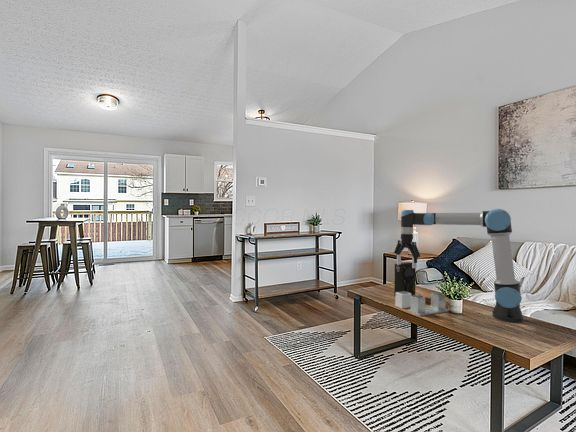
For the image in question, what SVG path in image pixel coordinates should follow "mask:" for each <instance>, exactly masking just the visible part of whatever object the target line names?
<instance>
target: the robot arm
mask: <svg viewBox="0 0 576 432" xmlns="http://www.w3.org/2000/svg"><path fill="white" fill-rule="evenodd" d="M400 219H401V220H400V233H401V234H400V239H398V240H397V244H396V246H395V248H394V251H393V253H394V254H396V257H395V258H396V264H397V265H399V264H401V263H402V255H401V253H402V252H403V251H404V249H405V248H406V249H408V250H409V252H410V253H411V255H412V260H411V261H412V268H417V263H418V259H419V258H420V257H421V254H420V252H419V248H418V245H417V242H416V241H413V240H414V225H415V226H416V225H418V226H433V225H453V226H454V225H456V226H457V225H459V226H481V227H482V228H483V227H484V228H486V233H487V235H488V236H490V241H491V246H492V255H493V263H494V269H495V277H496V279H495V280H494V281H493V285H494V299H495V306H494V307H493V310H492V314H491V315H492V318H494V319H496V320H499V321H503V322H506V323H507V322H508V323H515V324H516V323H523V322H524V316H523V312H522V310H521V302H522V295H521V282H520V281H519V280H517V279H516V275H515V270H514V269H515V267H514V261H513V253H512V246H511V240H510V235H511V234H512V233H513V228H512V218H511V215H510V214H509V212H508V211H506V210H505V209H502V208H495V209H491V210H483V211H481V212H415V211H414V209H402V210H401V215H400Z"/></svg>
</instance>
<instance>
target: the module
mask: <svg viewBox="0 0 576 432" xmlns="http://www.w3.org/2000/svg"><path fill="white" fill-rule="evenodd" d="M394 297H395V300H394V302H395V303H394V305H395V307H397V308H399V309H407V308H408V309H409V308H410V305H411V293H409V292H405V291H402V292H396V293H395V296H394Z"/></svg>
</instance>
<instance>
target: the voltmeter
mask: <svg viewBox="0 0 576 432" xmlns="http://www.w3.org/2000/svg"><path fill="white" fill-rule="evenodd" d="M416 268H417V267H416ZM416 268H412V262H411V261H409V262H407V261H406V262H401V264H399V265H397V263H394V291H393V292H394V293H393V295H394V297H395V293H396V292H402V291H405V292H409V293H411V296H413V295H415V294H416V275H417V274H416V271H417V270H416Z"/></svg>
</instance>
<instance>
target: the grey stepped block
mask: <svg viewBox="0 0 576 432" xmlns="http://www.w3.org/2000/svg"><path fill="white" fill-rule="evenodd" d="M444 294H445V293H442V292H439V291H438V292H437V291H436V292H431V293H430V305H427V306H426V297H425V296H423V295H421V296H420V295H413V296H411V305H410V307H409V308H408V309H407V308H406V309H407V312H408V313H411V314H413V315H416V316H418V317H422V316H423V317H424V316H427V315H434V314H440V313H447V312H449V308H446V296H445V295H446V294H445V295H444Z"/></svg>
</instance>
